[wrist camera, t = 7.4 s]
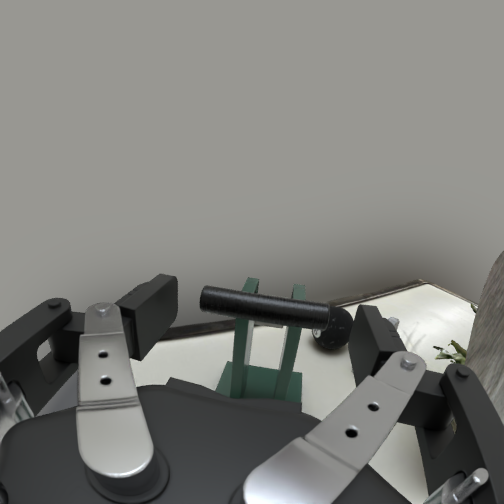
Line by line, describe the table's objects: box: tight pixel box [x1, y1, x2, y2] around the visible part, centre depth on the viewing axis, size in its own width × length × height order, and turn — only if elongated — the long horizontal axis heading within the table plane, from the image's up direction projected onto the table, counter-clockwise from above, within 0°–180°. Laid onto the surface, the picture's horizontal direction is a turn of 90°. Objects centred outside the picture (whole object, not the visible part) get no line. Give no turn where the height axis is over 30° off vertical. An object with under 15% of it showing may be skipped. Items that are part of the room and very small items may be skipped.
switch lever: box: [200, 286, 330, 331], centre depth 18 cm, size 13×6×2 cm, turn 171°
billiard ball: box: [312, 306, 354, 349], centre depth 38 cm, size 6×6×6 cm
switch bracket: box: [215, 277, 306, 403], centre depth 24 cm, size 12×9×14 cm
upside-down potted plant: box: [433, 251, 504, 425], centre depth 21 cm, size 25×18×25 cm
